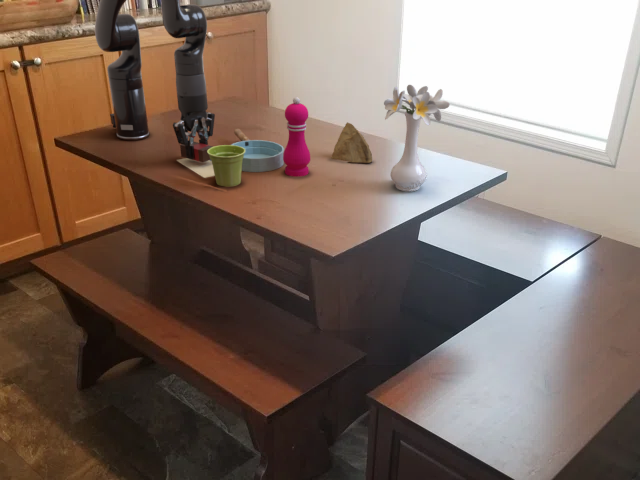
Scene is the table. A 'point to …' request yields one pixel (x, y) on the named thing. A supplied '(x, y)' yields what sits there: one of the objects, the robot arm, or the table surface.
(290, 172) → the pepper mill
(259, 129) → the table surface
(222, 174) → the plant pot
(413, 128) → the flower vase
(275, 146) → the pan
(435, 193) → the table surface
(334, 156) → the rock
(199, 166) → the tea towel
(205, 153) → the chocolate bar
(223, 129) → the table surface
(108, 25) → the robot arm
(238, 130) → the pan handle
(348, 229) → the table surface
